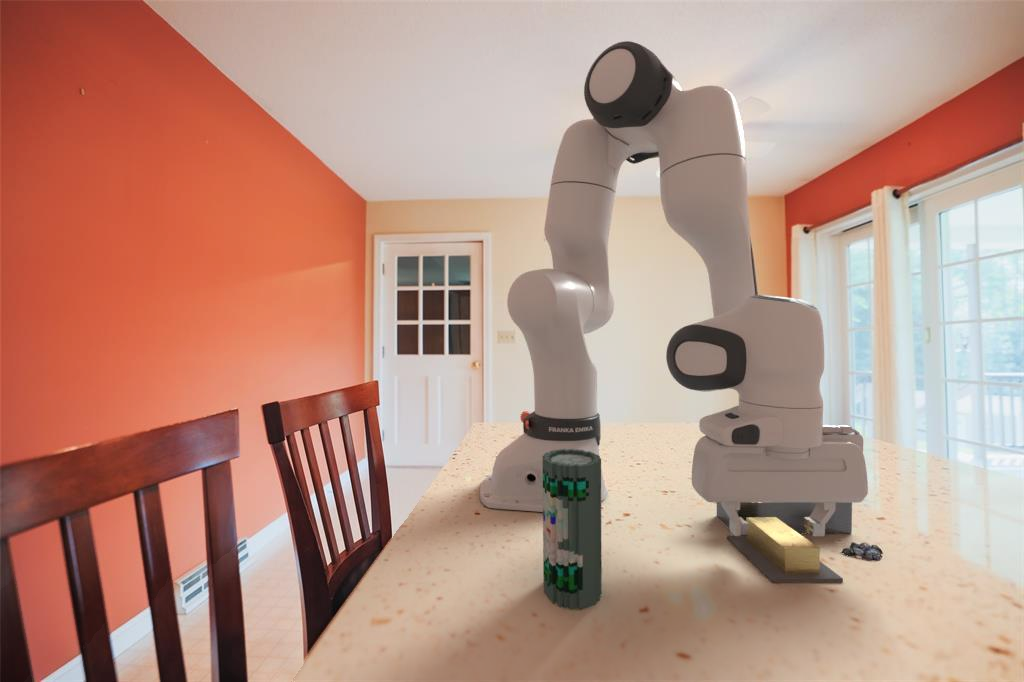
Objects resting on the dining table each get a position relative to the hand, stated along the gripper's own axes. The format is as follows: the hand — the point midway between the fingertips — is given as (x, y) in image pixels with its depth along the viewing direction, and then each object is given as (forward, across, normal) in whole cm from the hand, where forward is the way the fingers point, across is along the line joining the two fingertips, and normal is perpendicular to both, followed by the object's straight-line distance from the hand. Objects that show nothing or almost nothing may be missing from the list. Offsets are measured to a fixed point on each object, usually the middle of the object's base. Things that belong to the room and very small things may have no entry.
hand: (776, 534), depth 52 cm
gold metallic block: (+3, 0, 0) cm, 3 cm away
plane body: (+3, -6, -9) cm, 11 cm away
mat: (+3, 0, 0) cm, 3 cm away
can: (+4, +26, +6) cm, 27 cm away
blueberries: (+4, -12, -2) cm, 13 cm away
